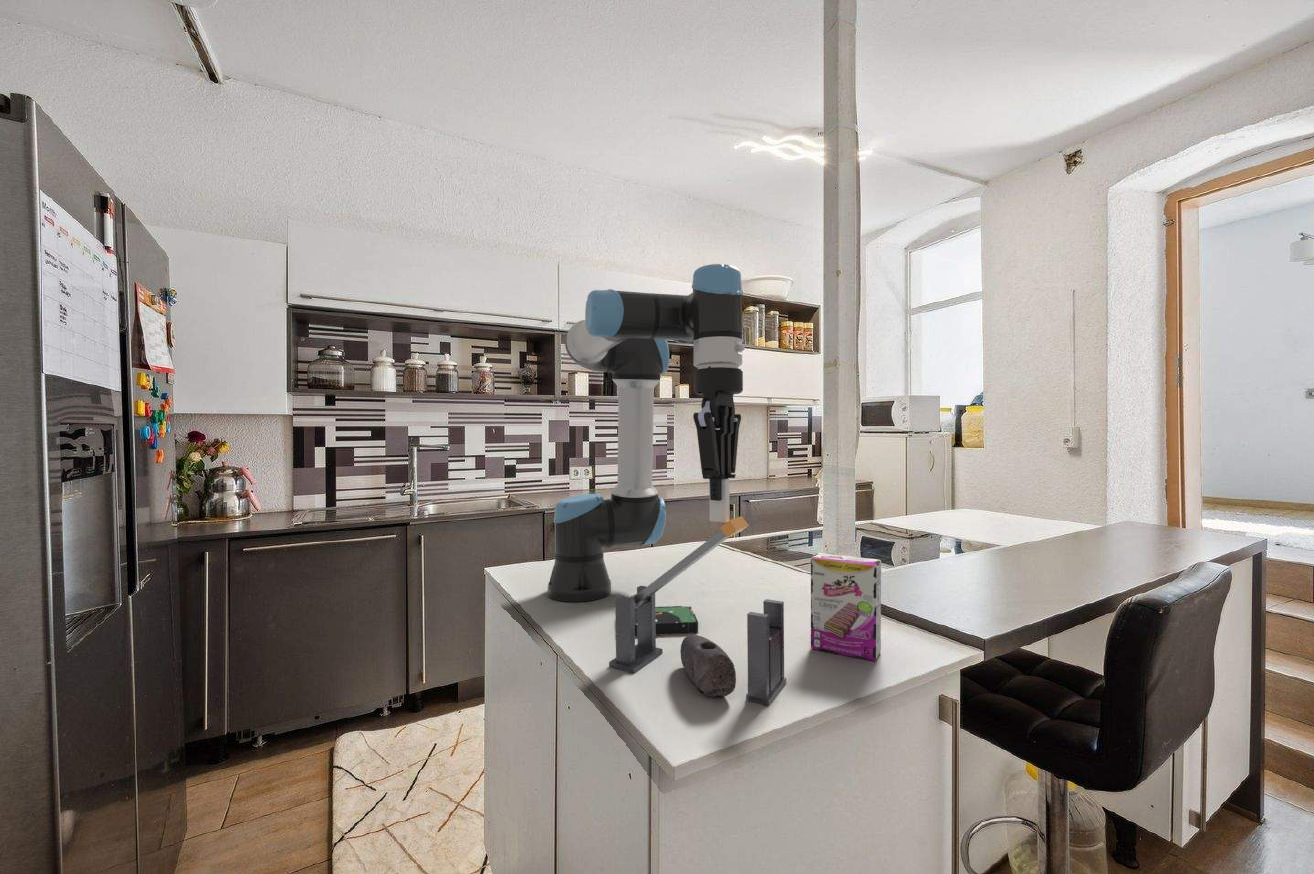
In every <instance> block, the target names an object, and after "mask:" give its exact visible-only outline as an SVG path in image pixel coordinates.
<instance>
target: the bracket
mask: <svg viewBox="0 0 1314 874" xmlns="http://www.w3.org/2000/svg"><path fill="white" fill-rule="evenodd" d="M646 587H647V586H645V585H638V586H637V587H636V594H637V593H639V592H641V591H642V590H643V589H645V588H646ZM614 601H615V603H614V604H615V606H614V608H615V611H614V612H615V613H614V614H615V657H614V658H613V659H611V660H610V661H609V662H608V667H609V668H612V669H617V670H619V671H623V672H628V673H631V674H636V673H637V672H638V671H640V670H641V669H643V668H644V667H646V666H647V665H648V664H650V663H651V662H653V661H654V660H655V659H657V658H658V657H660V656H661V655H663V652H664V651H663V648H660V647H657V644H656V643H657V642H656V641H657V640H656V639H657V638H656V637H657V636H656V622H655V607H656V592H655V593H654V594H653V595H651V596H650V597H649V598H648V602H647V603H646V604H644V605H642V606H640V607H639V608H637V644H636V636H635V598H631V596H626V595H625V596H624V595H620V594H619V595H617V596H616V597H615V599H614Z"/></svg>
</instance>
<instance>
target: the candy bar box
mask: <svg viewBox="0 0 1314 874" xmlns="http://www.w3.org/2000/svg"><path fill="white" fill-rule="evenodd" d="M881 598H882V560H881V559H877V558H876V559H875V558H869V557H859V556H853V555H852V556H851V555H842V554H833V553H824V552H817V553H815V554H814V555H812V556H811V558H810V648H811V649H813V650H816V651H817V650H818V651H823V652H828V653H832V654H838V655H843V656H848V657H852V658H858V659H862V660H863V659H864V660H868V661H873V662H876V661H877V660H878V657H879V655H880V653H881V651H882V650H881V649H882V641H881V640H882V638H881V636H882V634H881V632H882V631H881V630H882V627H881V626H882V617H881V616H882V615H881V613H882V609H881V608H882V606H881V605H882V601H881V600H882V599H881Z"/></svg>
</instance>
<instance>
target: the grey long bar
mask: <svg viewBox="0 0 1314 874" xmlns="http://www.w3.org/2000/svg"><path fill="white" fill-rule="evenodd" d="M747 527H749V524H748V522H747V521H746V520H745V518H744V517H743V515H740V516H738V517H735V518H732V519H730V521H728V522H725V523H724V524H723V525H722V526H720V530H719V531H718V532H717V533H716V534H713V536H711V537H710V538H709V539H707V540H706V541H705V542H704V543H702V544H701V545H700V546H698V547H697V548H696V549H695V550H693V551H692V552H691V553H689V554H688V555H687V556H685V557H684V558H683V559H681V560H679V562H677V563H676V564H675V565H673V566H672V567H671V568H669V569H668V570H667V571H666V572H665V573H663V574H662V575H660V576H659V577H658V578H656V579H655V580H653V581H652V582H651V583H650V584H649V585H647V586H646V588H645V589H643V590H642V591H641V592H639V593H637V592H636V593H635V594H633V595H631V596H630V597H631V598H635V609H637V608H639V607H640V606H642V605H644V604H646V603H647V602H648V598H649V597H650V596H651V595H653V594H654V593H655V594H656V593H657V592H659V590H661V589H662V588H663V587H665V586H667V585H668V584H669V583H670V582H672V581H673V580H674V579H675V578H676V577H678V576H679V575H681V574H682V573H684V572H685V571H686V570H687V569H688V568H690V567H692V566H693V565H694V564H696V562H698V561H699V560H701V559H702V558H704V557H705V556H707V554H709V553H710V552H711V551H713V550H714V549H715V548H717V547H719V545H721V544H722V543H723V542H725V541H726V540H728V539H729V538H730V537H732V536H735V535H737V534H739V533H740V532H742V531H743V530H745V529H746V528H747Z"/></svg>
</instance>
